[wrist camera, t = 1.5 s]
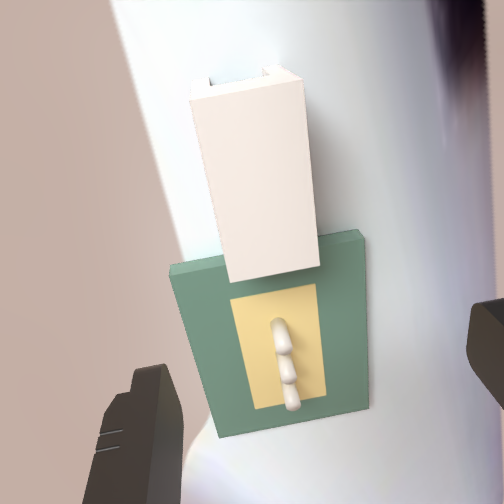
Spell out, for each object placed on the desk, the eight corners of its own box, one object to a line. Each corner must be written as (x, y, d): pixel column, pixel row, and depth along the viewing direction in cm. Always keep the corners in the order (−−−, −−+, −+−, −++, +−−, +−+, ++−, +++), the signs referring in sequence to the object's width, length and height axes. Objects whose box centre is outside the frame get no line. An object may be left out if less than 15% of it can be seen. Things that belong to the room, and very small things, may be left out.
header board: (170, 264, 31) (165, 301, 27) (357, 228, 31) (380, 259, 27) (218, 424, 40) (220, 469, 36) (363, 395, 40) (381, 437, 36)
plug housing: (191, 80, 25) (189, 100, 19) (278, 64, 25) (303, 79, 19) (224, 228, 30) (230, 283, 24) (295, 215, 30) (320, 265, 24)
